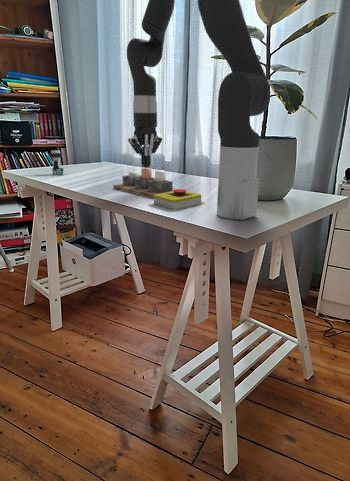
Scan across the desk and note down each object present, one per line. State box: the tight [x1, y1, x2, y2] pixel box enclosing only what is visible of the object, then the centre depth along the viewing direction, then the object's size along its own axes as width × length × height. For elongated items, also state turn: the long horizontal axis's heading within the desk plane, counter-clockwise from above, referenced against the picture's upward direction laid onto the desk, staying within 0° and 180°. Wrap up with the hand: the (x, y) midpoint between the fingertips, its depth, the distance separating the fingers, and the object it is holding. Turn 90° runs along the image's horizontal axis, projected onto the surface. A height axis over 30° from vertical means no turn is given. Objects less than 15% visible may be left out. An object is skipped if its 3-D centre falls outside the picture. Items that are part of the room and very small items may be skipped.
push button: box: [48, 149, 64, 176], centre depth 145 cm, size 7×5×10 cm
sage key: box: [128, 171, 140, 177], centre depth 120 cm, size 3×3×4 cm
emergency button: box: [148, 188, 205, 212], centre depth 98 cm, size 9×4×15 cm
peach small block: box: [140, 167, 153, 180], centre depth 114 cm, size 3×3×4 cm
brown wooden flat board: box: [113, 174, 177, 200], centre depth 115 cm, size 22×12×4 cm, turn 44°
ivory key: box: [154, 169, 167, 183], centre depth 109 cm, size 3×3×4 cm
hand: (146, 167), depth 113 cm, fingers closed
